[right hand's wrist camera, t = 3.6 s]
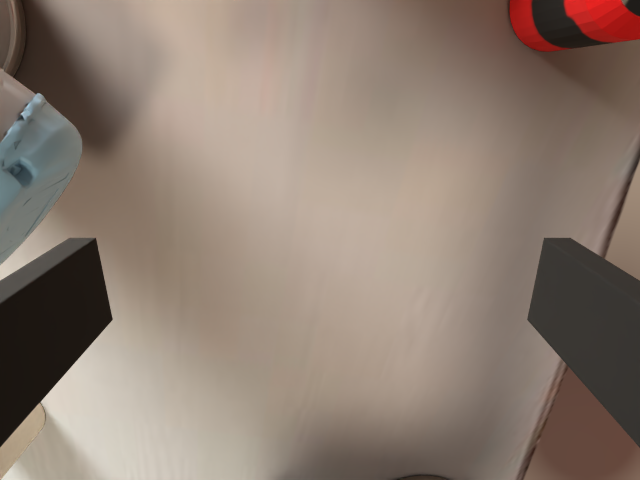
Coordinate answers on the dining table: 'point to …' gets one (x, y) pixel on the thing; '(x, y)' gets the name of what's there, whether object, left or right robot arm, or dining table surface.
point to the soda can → (574, 22)
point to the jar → (21, 439)
